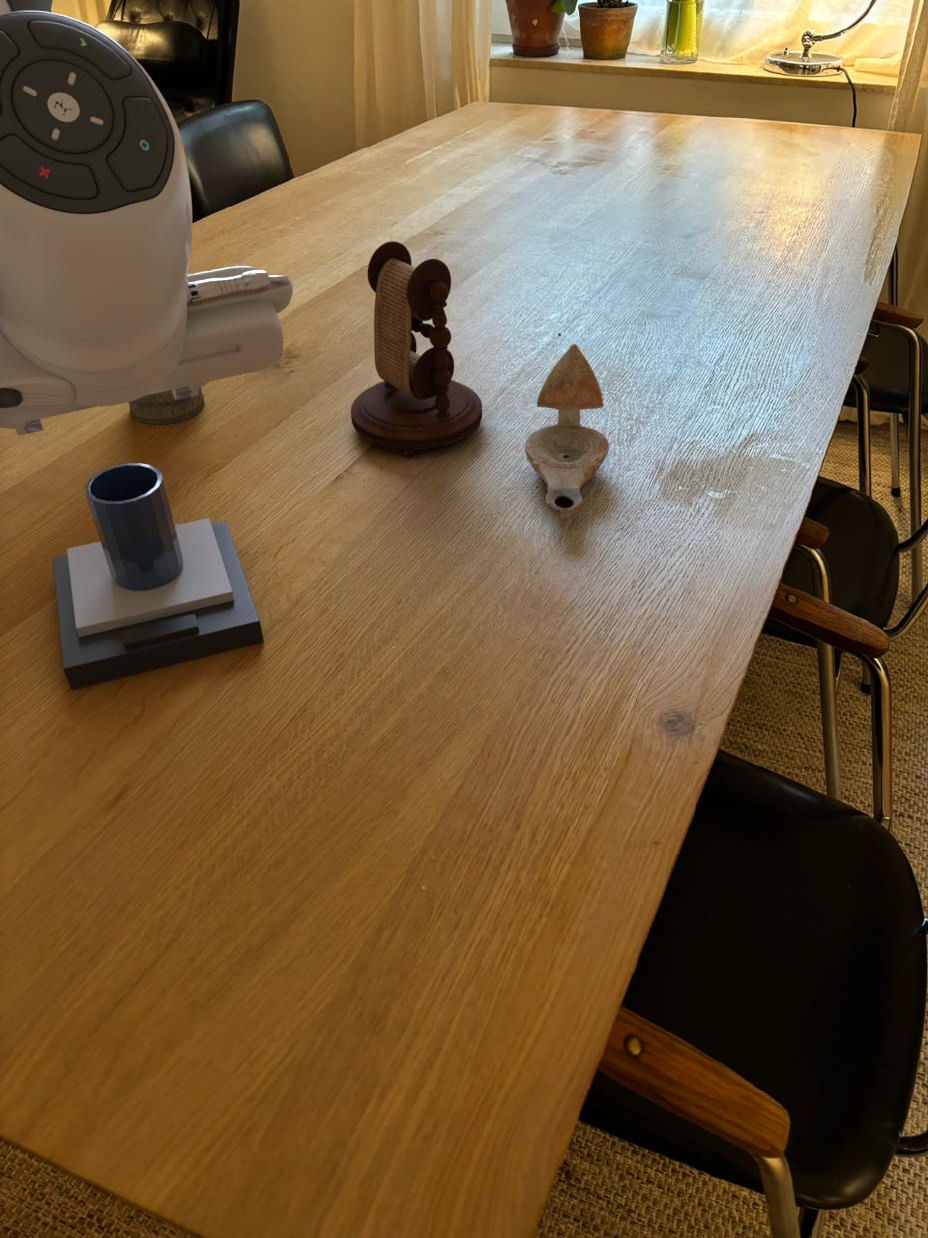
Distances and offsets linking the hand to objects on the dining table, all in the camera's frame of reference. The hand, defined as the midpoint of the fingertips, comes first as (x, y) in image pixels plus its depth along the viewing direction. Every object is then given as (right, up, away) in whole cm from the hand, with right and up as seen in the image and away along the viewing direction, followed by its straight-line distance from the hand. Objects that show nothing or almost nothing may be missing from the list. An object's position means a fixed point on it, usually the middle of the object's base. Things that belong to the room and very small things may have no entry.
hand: (106, 403), depth 61 cm
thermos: (-13, +12, +57) cm, 59 cm away
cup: (-6, -9, +27) cm, 29 cm away
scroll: (+17, +8, +52) cm, 55 cm away
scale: (-5, -12, +28) cm, 31 cm away
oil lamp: (+33, +1, +43) cm, 54 cm away
